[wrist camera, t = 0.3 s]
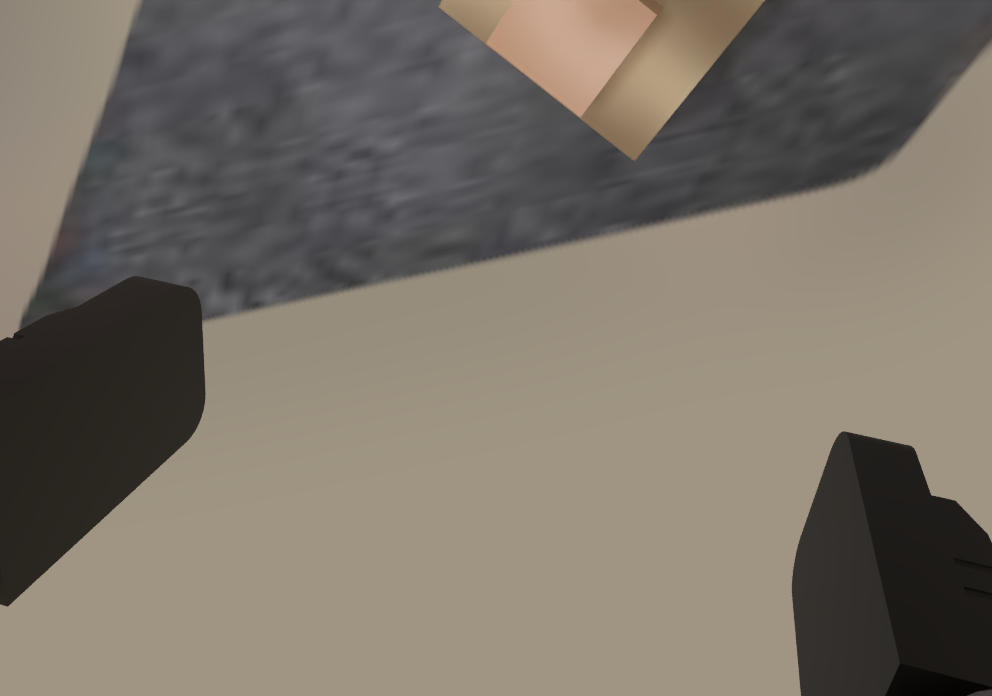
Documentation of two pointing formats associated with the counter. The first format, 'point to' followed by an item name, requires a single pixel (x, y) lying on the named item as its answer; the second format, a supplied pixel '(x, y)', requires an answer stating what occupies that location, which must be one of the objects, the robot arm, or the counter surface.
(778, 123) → the counter surface
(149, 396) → the robot arm
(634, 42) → the terracotta tile
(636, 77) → the wooden block
